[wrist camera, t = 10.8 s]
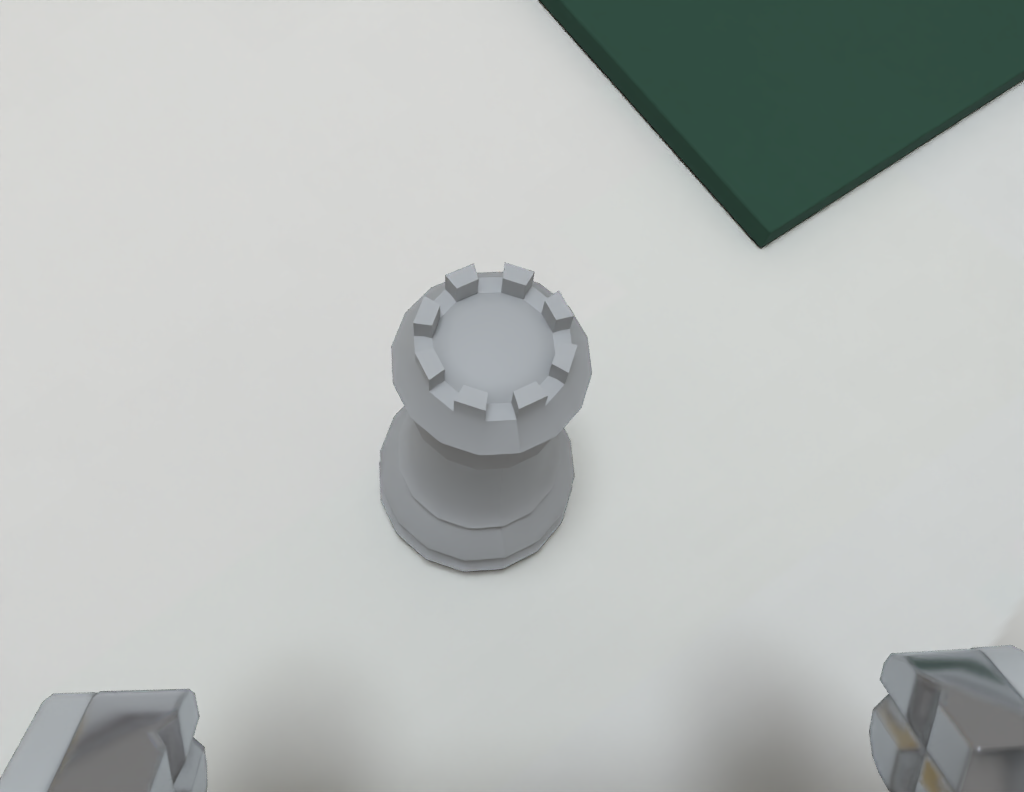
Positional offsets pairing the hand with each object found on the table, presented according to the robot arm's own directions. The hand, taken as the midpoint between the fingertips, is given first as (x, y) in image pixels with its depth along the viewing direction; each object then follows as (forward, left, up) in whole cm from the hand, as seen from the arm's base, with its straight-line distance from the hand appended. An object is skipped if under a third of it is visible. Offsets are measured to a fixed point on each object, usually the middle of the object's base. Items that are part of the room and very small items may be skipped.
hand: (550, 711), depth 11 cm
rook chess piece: (+5, -3, -9) cm, 11 cm away
